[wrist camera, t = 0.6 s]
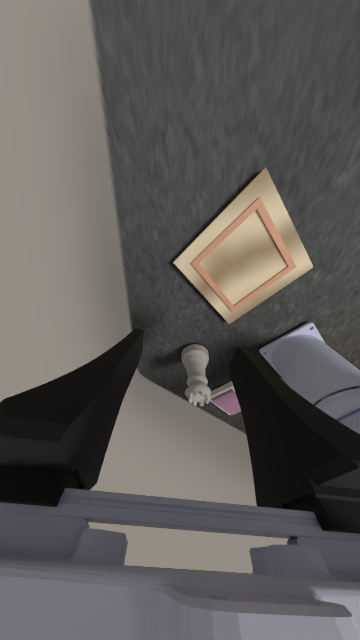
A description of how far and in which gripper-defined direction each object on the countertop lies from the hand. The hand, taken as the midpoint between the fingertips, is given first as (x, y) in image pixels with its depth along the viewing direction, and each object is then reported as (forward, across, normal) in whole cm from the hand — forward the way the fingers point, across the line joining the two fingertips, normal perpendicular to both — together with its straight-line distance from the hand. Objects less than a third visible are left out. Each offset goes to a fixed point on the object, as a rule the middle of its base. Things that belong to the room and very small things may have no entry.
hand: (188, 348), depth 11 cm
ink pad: (+10, -13, +19) cm, 25 cm away
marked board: (+10, -5, -6) cm, 12 cm away
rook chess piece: (+10, -3, +9) cm, 14 cm away
